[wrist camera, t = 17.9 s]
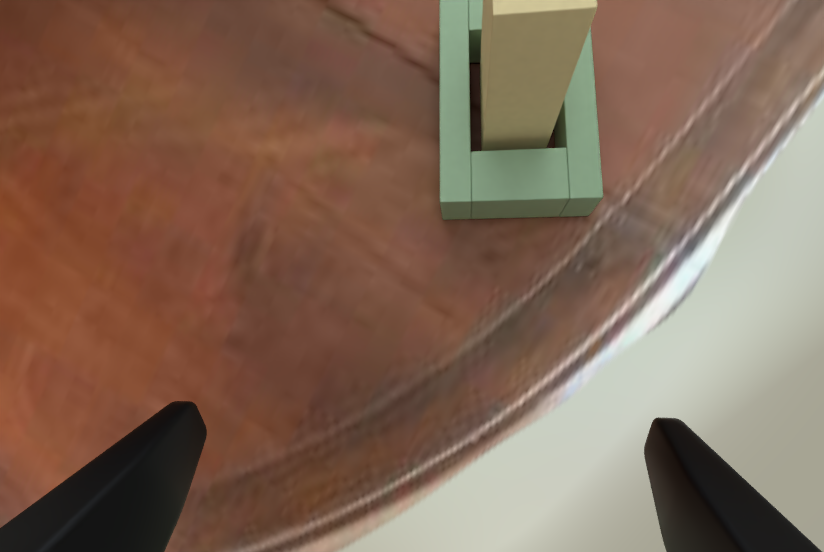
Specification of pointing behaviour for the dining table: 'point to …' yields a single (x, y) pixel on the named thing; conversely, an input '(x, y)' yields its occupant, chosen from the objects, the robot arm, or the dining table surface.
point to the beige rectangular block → (528, 67)
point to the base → (512, 169)
